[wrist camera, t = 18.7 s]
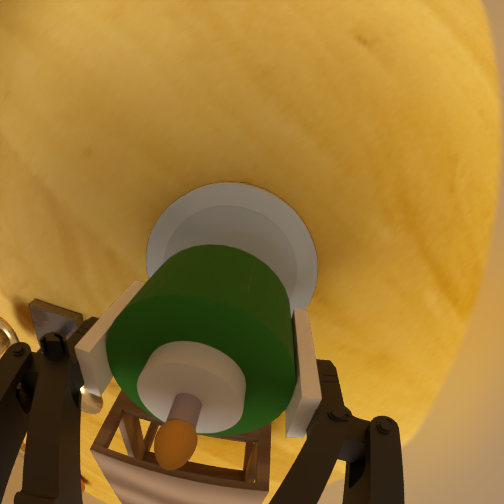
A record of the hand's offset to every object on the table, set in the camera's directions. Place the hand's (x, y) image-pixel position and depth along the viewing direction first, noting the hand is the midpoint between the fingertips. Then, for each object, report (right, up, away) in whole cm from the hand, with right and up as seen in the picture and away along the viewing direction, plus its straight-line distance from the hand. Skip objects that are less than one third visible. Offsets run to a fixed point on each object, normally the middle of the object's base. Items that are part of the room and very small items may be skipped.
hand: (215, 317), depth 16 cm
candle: (0, 0, 0) cm, 1 cm away
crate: (-3, -11, +12) cm, 17 cm away
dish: (0, +3, +7) cm, 7 cm away
